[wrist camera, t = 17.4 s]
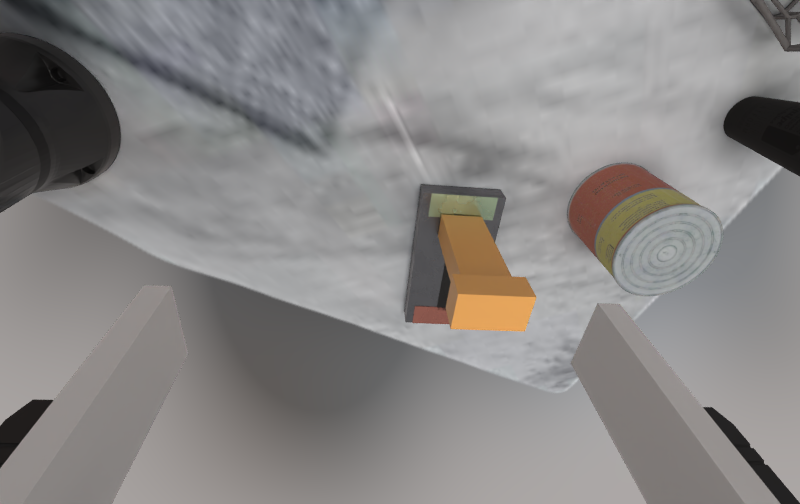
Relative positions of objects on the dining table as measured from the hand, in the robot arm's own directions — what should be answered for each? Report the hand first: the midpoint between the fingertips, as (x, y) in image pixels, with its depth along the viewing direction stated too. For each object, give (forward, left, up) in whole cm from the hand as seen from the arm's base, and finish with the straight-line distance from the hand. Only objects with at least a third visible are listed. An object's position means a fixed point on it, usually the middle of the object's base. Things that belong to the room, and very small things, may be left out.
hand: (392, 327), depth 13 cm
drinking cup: (+43, +1, -37) cm, 57 cm away
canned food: (+31, -11, -37) cm, 49 cm away
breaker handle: (+11, -14, -34) cm, 38 cm away
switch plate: (+11, -20, -37) cm, 43 cm away
